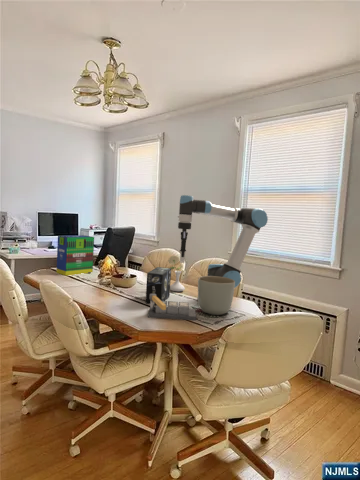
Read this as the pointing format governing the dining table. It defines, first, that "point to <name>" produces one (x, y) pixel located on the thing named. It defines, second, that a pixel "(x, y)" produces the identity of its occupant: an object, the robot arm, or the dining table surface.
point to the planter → (215, 294)
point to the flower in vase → (177, 285)
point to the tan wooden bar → (157, 301)
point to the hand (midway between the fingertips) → (182, 262)
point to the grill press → (172, 311)
